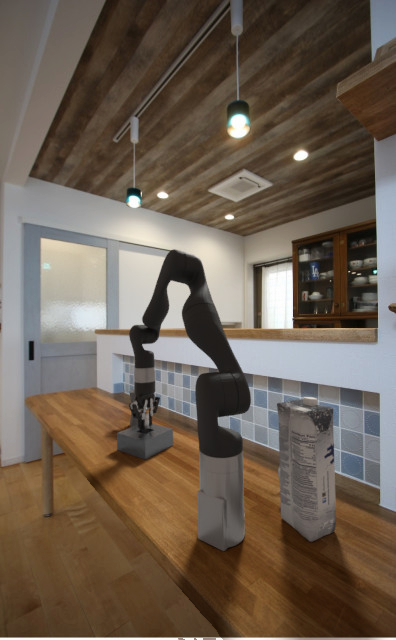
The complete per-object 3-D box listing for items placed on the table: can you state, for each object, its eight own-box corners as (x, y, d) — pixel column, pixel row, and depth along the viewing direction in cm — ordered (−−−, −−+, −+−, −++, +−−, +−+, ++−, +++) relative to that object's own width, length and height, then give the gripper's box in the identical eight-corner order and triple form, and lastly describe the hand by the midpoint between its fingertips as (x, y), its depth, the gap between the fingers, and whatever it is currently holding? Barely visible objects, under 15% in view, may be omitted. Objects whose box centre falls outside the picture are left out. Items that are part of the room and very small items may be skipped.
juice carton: (311, 548, 56) (307, 406, 57) (274, 517, 65) (271, 395, 66) (343, 533, 60) (339, 401, 60) (304, 505, 69) (301, 391, 70)
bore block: (145, 459, 95) (145, 441, 95) (117, 449, 103) (117, 432, 103) (173, 445, 106) (172, 428, 107) (145, 437, 114) (145, 422, 115)
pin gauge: (145, 438, 103) (145, 410, 103) (139, 437, 104) (139, 409, 105) (151, 436, 105) (150, 408, 105) (145, 434, 107) (145, 407, 107)
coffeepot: (123, 424, 131) (122, 383, 132) (141, 419, 138) (140, 381, 138) (141, 432, 120) (140, 388, 120) (160, 427, 126) (159, 385, 127)
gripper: (137, 384, 97) (138, 436, 97) (165, 377, 109) (166, 424, 108) (122, 382, 102) (123, 431, 101) (151, 376, 113) (151, 420, 113)
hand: (145, 427), depth 105 cm, fingers open, 3 cm apart
